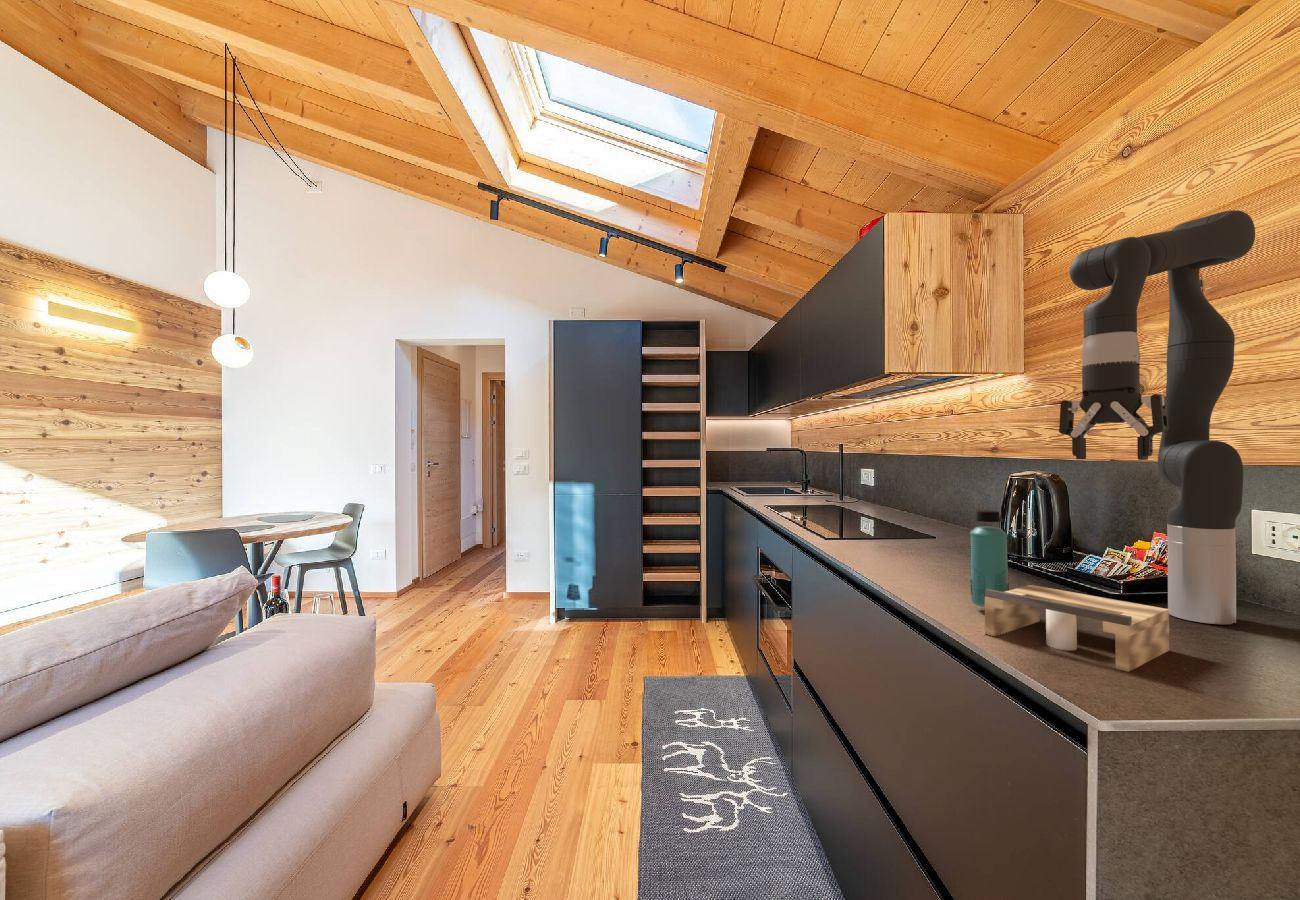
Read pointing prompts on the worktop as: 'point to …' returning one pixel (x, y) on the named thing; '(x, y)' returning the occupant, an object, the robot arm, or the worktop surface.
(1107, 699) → the worktop surface
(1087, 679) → the worktop surface
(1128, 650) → the shelf
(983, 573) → the beverage bottle
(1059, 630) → the white cylinder
